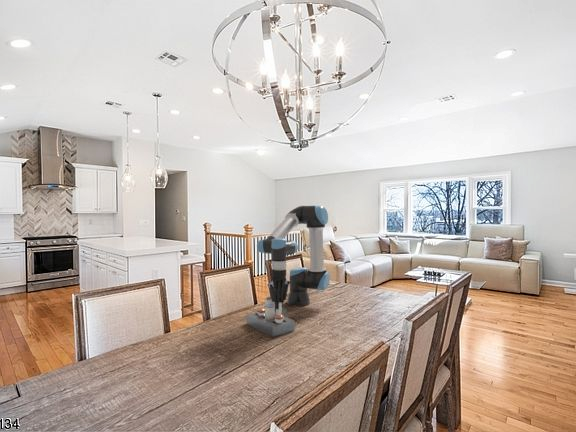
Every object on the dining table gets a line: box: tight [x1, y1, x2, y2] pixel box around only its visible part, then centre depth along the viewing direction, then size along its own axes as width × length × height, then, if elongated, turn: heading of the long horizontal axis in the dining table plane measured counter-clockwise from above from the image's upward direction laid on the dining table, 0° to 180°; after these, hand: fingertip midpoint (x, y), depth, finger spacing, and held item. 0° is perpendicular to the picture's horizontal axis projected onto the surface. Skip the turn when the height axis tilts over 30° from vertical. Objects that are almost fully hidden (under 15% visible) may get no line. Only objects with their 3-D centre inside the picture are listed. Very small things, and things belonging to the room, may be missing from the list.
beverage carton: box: [275, 305, 288, 318], centre depth 189 cm, size 8×19×7 cm, turn 15°
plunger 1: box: [256, 307, 265, 316], centre depth 176 cm, size 5×5×7 cm
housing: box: [246, 311, 296, 338], centre depth 169 cm, size 14×24×5 cm, turn 39°
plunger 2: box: [274, 314, 284, 324], centre depth 163 cm, size 5×5×7 cm
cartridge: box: [264, 296, 275, 321], centre depth 169 cm, size 5×5×16 cm
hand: (278, 314), depth 163 cm, fingers closed
